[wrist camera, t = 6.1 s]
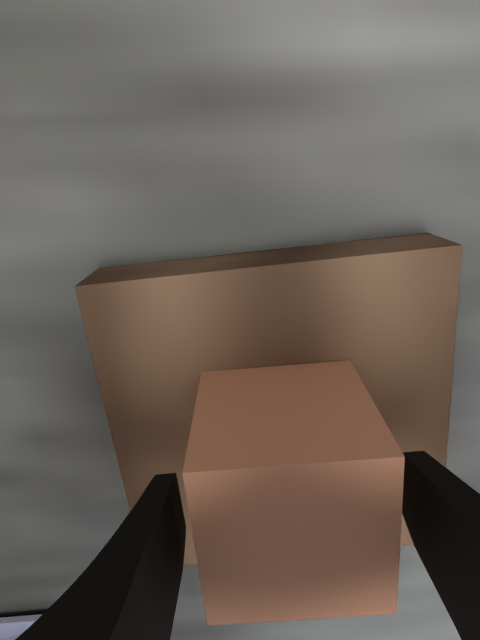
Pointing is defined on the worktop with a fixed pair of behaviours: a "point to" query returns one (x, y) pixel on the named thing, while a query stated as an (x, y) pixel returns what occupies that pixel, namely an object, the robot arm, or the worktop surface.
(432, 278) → the walnut block
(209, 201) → the worktop surface
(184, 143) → the worktop surface
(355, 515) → the terracotta cube
